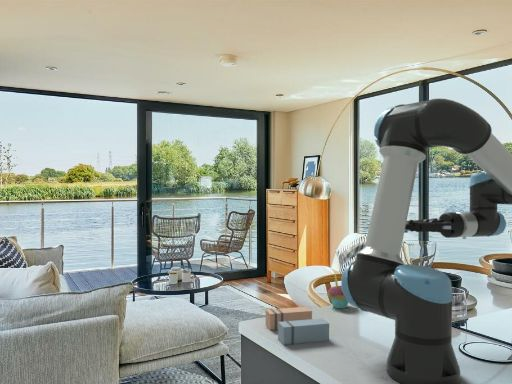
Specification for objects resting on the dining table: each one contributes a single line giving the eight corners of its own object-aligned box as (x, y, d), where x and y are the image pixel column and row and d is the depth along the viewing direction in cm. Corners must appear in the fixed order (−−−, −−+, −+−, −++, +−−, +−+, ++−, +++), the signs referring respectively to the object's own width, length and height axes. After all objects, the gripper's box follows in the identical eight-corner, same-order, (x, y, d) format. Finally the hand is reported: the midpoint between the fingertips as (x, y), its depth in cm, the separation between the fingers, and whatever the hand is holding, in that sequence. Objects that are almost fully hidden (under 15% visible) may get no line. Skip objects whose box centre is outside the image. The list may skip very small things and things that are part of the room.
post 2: (322, 317, 122) (278, 321, 118) (329, 323, 117) (283, 327, 114) (321, 334, 122) (277, 339, 118) (329, 340, 117) (283, 345, 114)
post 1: (306, 306, 133) (265, 309, 130) (312, 310, 129) (270, 313, 125) (305, 321, 133) (265, 325, 130) (312, 326, 129) (270, 330, 125)
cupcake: (336, 311, 144) (336, 275, 144) (322, 304, 152) (322, 270, 151) (357, 308, 147) (357, 273, 147) (342, 302, 155) (342, 268, 155)
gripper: (472, 240, 124) (400, 243, 117) (441, 234, 136) (374, 237, 130) (473, 213, 124) (401, 215, 117) (441, 211, 136) (374, 212, 130)
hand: (387, 226), depth 123 cm, fingers closed
